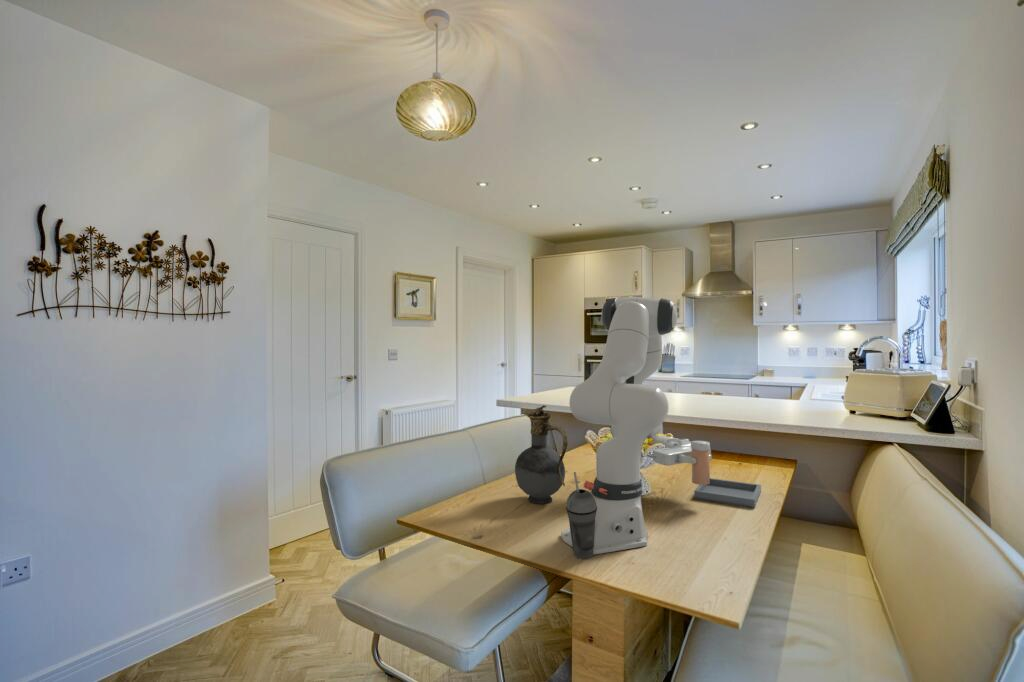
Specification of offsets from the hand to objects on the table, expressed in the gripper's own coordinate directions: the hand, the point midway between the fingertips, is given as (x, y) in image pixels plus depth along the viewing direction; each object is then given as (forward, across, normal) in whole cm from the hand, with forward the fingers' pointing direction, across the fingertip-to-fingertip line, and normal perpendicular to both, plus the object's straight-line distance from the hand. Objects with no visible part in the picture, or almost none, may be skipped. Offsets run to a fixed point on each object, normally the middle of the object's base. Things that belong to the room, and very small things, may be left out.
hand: (703, 459), depth 145 cm
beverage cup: (+7, -50, +15) cm, 53 cm away
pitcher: (-29, -38, +15) cm, 50 cm away
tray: (-3, +15, +14) cm, 21 cm away
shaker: (-1, 0, +7) cm, 7 cm away
